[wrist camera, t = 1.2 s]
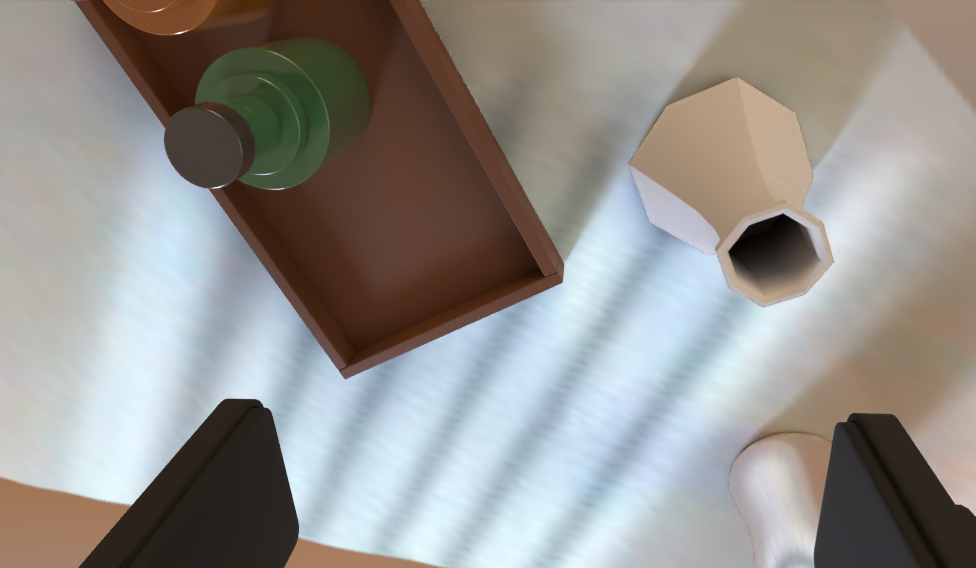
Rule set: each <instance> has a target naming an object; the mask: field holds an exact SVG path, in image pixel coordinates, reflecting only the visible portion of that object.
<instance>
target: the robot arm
mask: <svg viewBox="0 0 976 568" xmlns="http://www.w3.org/2000/svg"><path fill="white" fill-rule="evenodd" d="M298 534H299V523H298V518H297V514H296V510H295V506H294V502H293V498H292V494H291V489H290V485H289V481H288V477H287V473H286V469H285V465H284V461H283V457H282V453H281V448H280V444H279V440H278V436H277V432H276V428H275V424H274V420H273V416H272V413H271V411H270V410H269V409H268V408H264V407H263V405H262V403H261V402H260V401H259V400H256V399H225V400H223V401H222V402H221V403H220V404H219V405H218V406H217V407H216V408H215V410H214V411H213V412H212V413H211V414H210V415H209V417H208V418H207V419H206V420H205V421H204V422H203V424H202V425H201V426H200V427H199V428H198V429H197V430H196V432H195V433H194V434H193V435H192V436H191V437H190V439H189V440H188V441H187V442H186V443H185V444H184V446H183V447H182V448H181V449H180V450H179V451H178V453H177V454H176V455H175V456H174V457H173V458H172V460H171V461H170V462H169V463H168V464H167V465H166V466H165V468H164V469H163V470H162V471H161V472H160V473H159V475H158V476H157V477H156V478H155V479H154V480H153V482H152V483H151V484H150V485H149V486H148V487H147V489H146V490H145V491H144V492H143V493H142V494H141V496H140V497H139V498H138V499H137V500H136V501H135V502H134V504H133V505H132V506H131V507H130V508H129V510H128V511H127V512H126V513H125V514H124V515H123V517H122V518H121V519H120V520H119V521H118V522H117V523H116V525H115V526H114V527H113V528H112V529H111V530H110V532H109V533H108V534H107V535H106V536H105V537H104V539H103V540H102V541H101V542H100V543H99V544H98V545H97V547H96V548H95V549H94V550H93V551H92V552H91V554H90V555H89V556H88V557H87V558H86V560H85V561H84V562H83V563H82V564H81V565H80V567H79V568H284V567H285V565H286V563H287V561H288V559H289V557H290V555H291V553H292V551H293V549H294V547H295V545H296V542H297V539H298ZM814 567H815V568H976V517H975V516H974V515H973V513H972V512H971V511H970V510H969V509H968V508H966V507H964V506H962V505H955V503H954V502H953V500H952V499H951V497H950V496H949V495H948V493H947V492H946V490H945V489H944V487H943V486H942V484H941V483H940V481H939V480H938V478H937V477H936V475H935V474H934V472H933V471H932V469H931V468H930V466H929V465H928V463H927V462H926V460H925V459H924V457H923V456H922V454H921V453H920V451H919V450H918V448H917V447H916V445H915V444H914V442H913V441H912V439H911V438H910V437H909V435H908V434H907V432H906V431H905V429H904V428H903V426H902V425H901V423H900V422H899V420H898V419H897V418H896V417H895V416H894V415H892V414H867V413H853V414H851V415H850V416H849V418H848V420H847V422H839V423H837V425H836V426H835V430H834V436H833V441H832V447H831V453H830V459H829V465H828V471H827V476H826V482H825V488H824V494H823V500H822V506H821V512H820V517H819V523H818V529H817V535H816V541H815V547H814Z"/></svg>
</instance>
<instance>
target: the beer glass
mask: <svg viewBox="0 0 976 568" xmlns="http://www.w3.org/2000/svg"><path fill="white" fill-rule="evenodd" d="M831 447H832V443H831V442H829V441H828V440H826V439H823V438H821V437H818V436H815V435H811V434H806V433H782V434H776V435H772V436H769V437H766V438H763V439H761V440H759V441H757V442H755V443H753V444H752V445H750V446H749V447H747V448H746V449H745V450H744V451H743V452H741V454H740V455H739V456H738V457H737V458H736V460H735V461H734V463H733V465H732V467H731V469H730V473H729V479H728V486H729V492H730V495H731V498H732V500H733V502H734V505H735V506H736V508H737V510H738V512H739V514H740V516H741V517H742V519H743V521H744V523H745V525H746V527H747V529H748V532H749V535H750V538H751V542H752V547H753V555H754V568H815V567H814V547H815V541H816V535H817V529H818V523H819V517H820V512H821V506H822V500H823V494H824V488H825V482H826V476H827V471H828V465H829V459H830V453H831Z"/></svg>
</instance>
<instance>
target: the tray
mask: <svg viewBox="0 0 976 568" xmlns="http://www.w3.org/2000/svg"><path fill="white" fill-rule="evenodd" d="M75 2H76V4H77V5H78V7H79V8H80V9H81V11H82V12H83V14H84V15H85V16H86V18H87V19H88V21H89V22H90V23H91V25H92V26H93V28H94V29H95V30H96V32H97V33H98V35H99V36H100V37H101V39H102V40H103V42H104V43H105V44H106V46H107V47H108V49H109V50H110V51H111V53H112V54H113V56H114V57H115V58H116V60H117V61H118V63H119V64H120V65H121V67H122V68H123V70H124V71H125V72H126V74H127V75H128V77H129V78H130V79H131V81H132V82H133V84H134V85H135V86H136V88H137V89H138V91H139V92H140V93H141V95H142V96H143V98H144V99H145V100H146V102H147V103H148V105H149V106H150V107H151V109H152V110H153V112H154V113H155V114H156V116H157V117H158V119H159V120H160V121H161V123H162V124H163V126H164V127H165V128H166V126H167V124H168V122H169V120H170V119H171V118H172V116H173V115H174V114H176V113H177V112H178V111H180V110H182V109H184V108H187V107H190V106H193V105H195V98H196V92H197V88H198V85H199V82H200V80H201V78H202V76H203V74H204V73H205V71H206V70H207V68H208V67H209V66H210V65H211V64H212V63H213V62H214V61H215V60H216V59H218V58H219V57H220V56H222V55H224V54H226V53H228V52H230V51H233V50H236V49H241V48H245V47H250V46H254V45H259V44H263V43H267V42H272V41H276V40H281V39H285V38H290V37H294V36H300V35H310V36H317V37H321V38H324V39H327V40H330V41H332V42H333V43H335V44H337V45H339V46H340V47H341V48H343V49H344V50H345V51H346V52H347V53H349V54H350V55H351V56H352V58H353V59H354V60H355V61H356V62H357V64H358V65H359V67H360V68H361V70H362V72H363V74H364V76H365V78H366V81H367V84H368V87H369V91H370V98H371V110H370V117H369V121H368V124H367V127H366V129H365V131H364V133H363V134H362V136H361V137H360V139H359V140H358V141H357V142H356V143H355V144H354V145H353V146H352V147H351V148H349V149H348V150H347V151H345V152H344V153H342V154H341V155H340V156H338V157H337V158H336V159H334V160H333V161H332V162H330V163H329V164H328V165H326V166H325V167H323V168H322V169H321V170H319V171H318V172H317V173H315V174H314V175H313V176H311V177H310V178H308V179H307V180H306V181H304V182H303V183H301V184H298V185H296V186H294V187H291V188H287V189H281V190H269V189H261V188H257V187H253V186H251V185H248V184H246V183H244V182H242V181H240V180H238V179H237V180H236V181H234V182H232V183H231V184H229V185H227V186H225V187H222V188H217V189H209V190H210V191H211V193H212V194H213V195H214V197H215V198H216V200H217V201H218V202H219V204H220V205H221V207H222V208H223V209H224V211H225V212H226V214H227V215H228V216H229V218H230V219H231V221H232V222H233V223H234V225H235V226H236V228H237V229H238V230H239V232H240V233H241V235H242V236H243V237H244V239H245V240H246V242H247V243H248V244H249V246H250V247H251V249H252V250H253V251H254V253H255V254H256V256H257V257H258V258H259V260H260V261H261V263H262V264H263V265H264V267H265V268H266V270H267V271H268V272H269V274H270V275H271V277H272V278H273V279H274V281H275V282H276V284H277V285H278V286H279V288H280V289H281V291H282V292H283V293H284V295H285V296H286V298H287V299H288V300H289V302H290V303H291V305H292V306H293V307H294V309H295V310H296V312H297V313H298V314H299V316H300V317H301V319H302V320H303V321H304V323H305V324H306V326H307V327H308V328H309V330H310V331H311V333H312V334H313V335H314V337H315V338H316V340H317V341H318V342H319V344H320V345H321V347H322V348H323V349H324V351H325V352H326V354H327V355H328V356H329V358H330V359H331V361H332V362H333V363H334V365H335V366H336V368H337V369H338V370H339V372H340V373H341V375H342V376H343V377H344V379H347V378H349V377H352V376H354V375H356V374H358V373H361V372H363V371H365V370H367V369H370V368H372V367H374V366H376V365H379V364H381V363H383V362H385V361H388V360H390V359H392V358H394V357H397V356H399V355H401V354H403V353H406V352H408V351H410V350H412V349H415V348H417V347H419V346H421V345H424V344H426V343H428V342H430V341H433V340H435V339H437V338H439V337H442V336H444V335H446V334H448V333H451V332H453V331H455V330H457V329H460V328H462V327H464V326H466V325H469V324H471V323H473V322H475V321H478V320H480V319H482V318H484V317H487V316H489V315H491V314H493V313H496V312H498V311H500V310H502V309H505V308H507V307H509V306H511V305H514V304H516V303H518V302H520V301H523V300H525V299H527V298H529V297H532V296H534V295H536V294H538V293H541V292H543V291H545V290H547V289H550V288H552V287H554V286H556V285H558V284H561V283H562V282H563V273H564V263H563V261H562V259H561V257H560V255H559V254H558V252H557V250H556V248H555V246H554V244H553V243H552V241H551V239H550V237H549V235H548V234H547V232H546V230H545V228H544V226H543V224H542V223H541V221H540V219H539V217H538V215H537V214H536V212H535V210H534V208H533V206H532V205H531V203H530V201H529V199H528V197H527V195H526V194H525V192H524V190H523V188H522V186H521V185H520V183H519V181H518V179H517V177H516V175H515V174H514V172H513V170H512V168H511V166H510V165H509V163H508V161H507V159H506V157H505V156H504V154H503V152H502V150H501V148H500V146H499V145H498V143H497V141H496V139H495V137H494V136H493V134H492V132H491V130H490V128H489V126H488V125H487V123H486V121H485V119H484V117H483V116H482V114H481V112H480V110H479V108H478V106H477V105H476V103H475V101H474V99H473V97H472V96H471V94H470V92H469V90H468V88H467V87H466V85H465V83H464V81H463V79H462V77H461V76H460V74H459V72H458V70H457V68H456V67H455V65H454V63H453V61H452V59H451V57H450V56H449V54H448V52H447V50H446V48H445V47H444V45H443V43H442V41H441V39H440V38H439V36H438V34H437V32H436V30H435V28H434V27H433V25H432V23H431V21H430V19H429V18H428V16H427V14H426V12H425V10H424V8H423V7H422V5H421V3H420V1H419V0H276V2H275V3H274V5H273V6H272V7H271V9H270V10H269V11H268V12H267V13H266V14H264V15H263V16H262V17H260V18H259V19H257V20H255V21H253V22H250V23H247V24H242V25H236V26H230V27H223V28H217V29H210V30H204V31H198V32H191V33H185V34H179V35H167V36H165V35H156V34H152V33H148V32H145V31H143V30H140V29H138V28H136V27H134V26H132V25H130V24H129V23H127V22H126V21H124V20H123V19H121V18H120V17H119V16H118V15H117V14H115V13H114V12H113V11H112V10H111V9H110V8H109V7H108V6H107V5H106V3H105V2H104V1H103V0H85V1H75Z"/></svg>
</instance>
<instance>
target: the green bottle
mask: <svg viewBox="0 0 976 568" xmlns="http://www.w3.org/2000/svg"><path fill="white" fill-rule="evenodd" d="M370 110H371V98H370V91H369V87H368V84H367V81H366V78H365V76H364V74H363V72H362V70H361V68H360V67H359V65H358V64H357V62H356V61H355V60H354V59H353V58H352V56H351V55H350V54H349V53H347V52H346V51H345V50H344V49H343V48H341V47H340V46H339V45H337V44H335V43H333V42H332V41H330V40H327V39H324V38H321V37H317V36H310V35H300V36H294V37H290V38H285V39H281V40H276V41H272V42H267V43H263V44H259V45H254V46H250V47H245V48H241V49H236V50H233V51H230V52H228V53H226V54H224V55H222V56H220V57H219V58H218V59H216V60H215V61H214V62H213V63H212V64H211V65H210V66H209V67H208V68H207V70H206V71H205V73H204V74H203V76H202V78H201V80H200V82H199V85H198V88H197V92H196V98H195V105H193V106H190V107H187V108H184V109H182V110H180V111H178V112H177V113H176V114H174V115H173V116H172V118H171V119H170V120H169V122H168V124H167V126H166V130H165V135H164V144H165V150H166V153H167V156H168V158H169V160H170V162H171V164H172V166H173V167H174V168H175V170H176V171H177V172H178V173H179V174H180V175H181V176H182V177H183V178H184V179H186V180H187V181H189V182H190V183H192V184H194V185H197V186H199V187H203V188H209V189H217V188H222V187H225V186H227V185H229V184H231V183H232V182H234V181H236V180H237V179H238V180H240V181H242V182H244V183H246V184H248V185H251V186H253V187H257V188H261V189H269V190H281V189H287V188H291V187H294V186H296V185H298V184H301V183H303V182H304V181H306V180H307V179H308V178H310V177H311V176H313V175H314V174H315V173H317V172H318V171H319V170H321V169H322V168H323V167H325V166H326V165H328V164H329V163H330V162H332V161H333V160H334V159H336V158H337V157H338V156H340V155H341V154H342V153H344V152H345V151H347V150H348V149H349V148H351V147H352V146H353V145H354V144H355V143H356V142H357V141H358V140H359V139H360V137H361V136H362V134H363V133H364V131H365V129H366V127H367V124H368V121H369V117H370Z"/></svg>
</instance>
